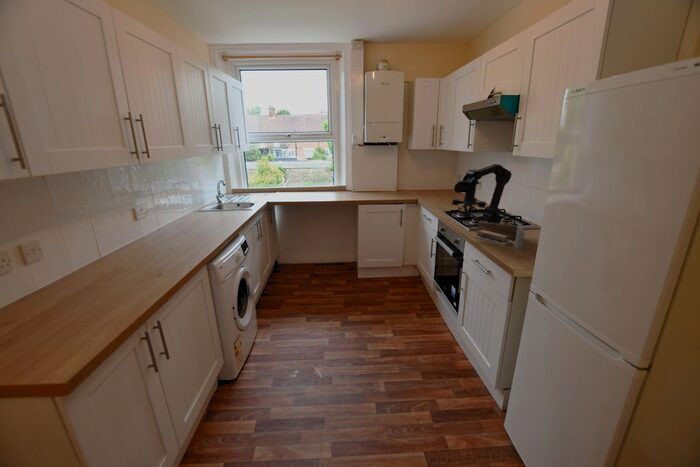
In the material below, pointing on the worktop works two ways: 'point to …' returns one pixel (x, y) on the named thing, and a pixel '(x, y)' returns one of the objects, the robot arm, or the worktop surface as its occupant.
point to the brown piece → (505, 231)
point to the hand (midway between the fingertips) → (466, 216)
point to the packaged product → (493, 237)
